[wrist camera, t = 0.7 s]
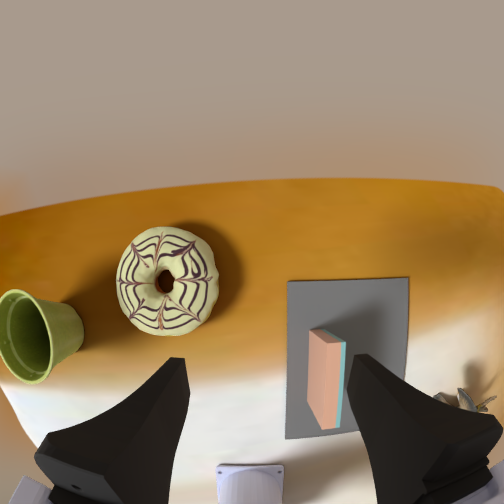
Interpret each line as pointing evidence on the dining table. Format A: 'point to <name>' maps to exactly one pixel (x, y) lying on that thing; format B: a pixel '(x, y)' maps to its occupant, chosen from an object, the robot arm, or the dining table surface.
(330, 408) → the tile
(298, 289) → the mat
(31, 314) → the plant pot
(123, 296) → the decorated donut
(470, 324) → the dining table surface
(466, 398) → the eagle figurine
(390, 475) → the robot arm
